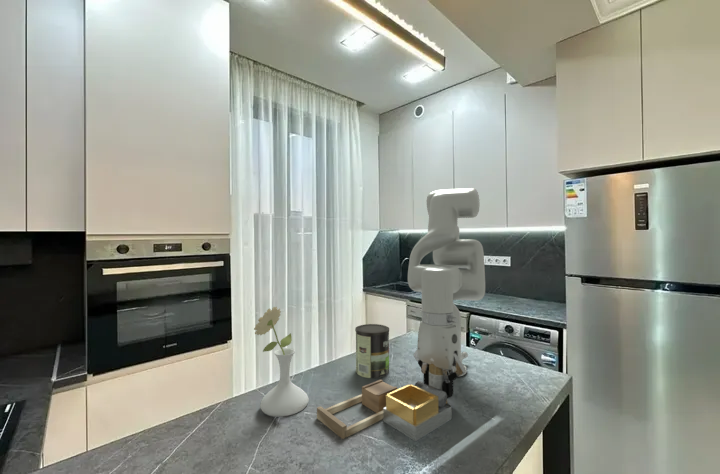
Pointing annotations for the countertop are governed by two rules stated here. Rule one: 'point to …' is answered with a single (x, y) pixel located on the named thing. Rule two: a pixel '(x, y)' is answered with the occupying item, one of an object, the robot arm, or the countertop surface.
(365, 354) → the coffee can
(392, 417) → the gold open box
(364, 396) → the tan cardboard box
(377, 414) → the tray
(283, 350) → the flower in vase
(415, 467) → the countertop surface
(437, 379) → the sprinkles bottle
